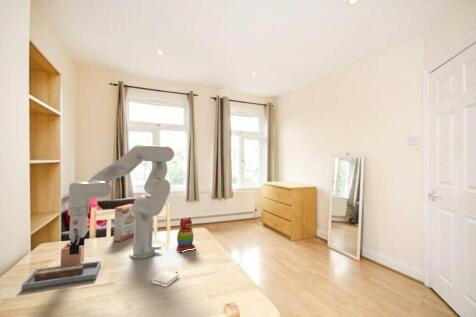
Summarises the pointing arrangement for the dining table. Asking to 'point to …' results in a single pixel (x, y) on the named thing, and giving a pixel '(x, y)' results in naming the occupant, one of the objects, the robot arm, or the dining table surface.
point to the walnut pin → (58, 273)
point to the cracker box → (124, 222)
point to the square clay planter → (71, 259)
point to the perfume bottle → (165, 277)
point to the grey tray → (88, 275)
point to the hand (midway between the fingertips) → (77, 249)
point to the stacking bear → (185, 235)
